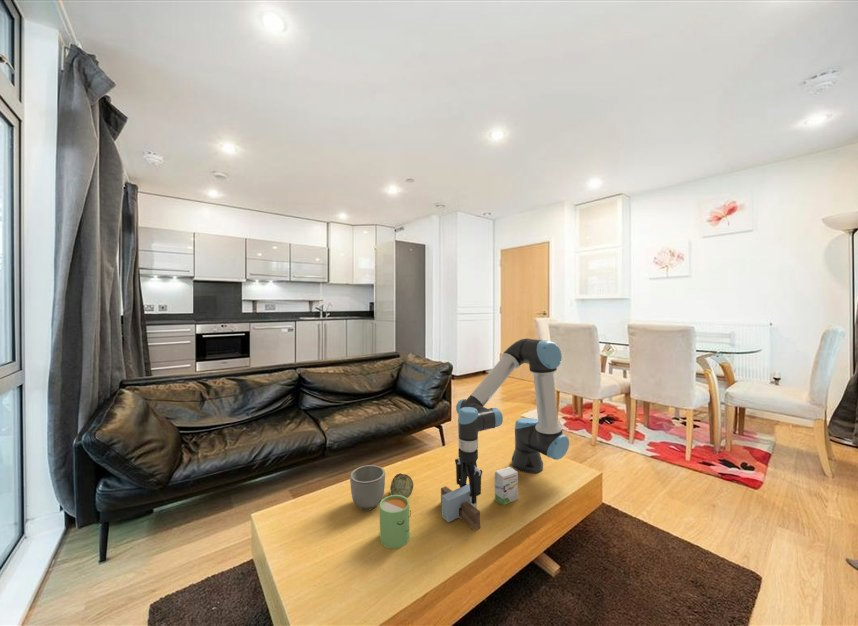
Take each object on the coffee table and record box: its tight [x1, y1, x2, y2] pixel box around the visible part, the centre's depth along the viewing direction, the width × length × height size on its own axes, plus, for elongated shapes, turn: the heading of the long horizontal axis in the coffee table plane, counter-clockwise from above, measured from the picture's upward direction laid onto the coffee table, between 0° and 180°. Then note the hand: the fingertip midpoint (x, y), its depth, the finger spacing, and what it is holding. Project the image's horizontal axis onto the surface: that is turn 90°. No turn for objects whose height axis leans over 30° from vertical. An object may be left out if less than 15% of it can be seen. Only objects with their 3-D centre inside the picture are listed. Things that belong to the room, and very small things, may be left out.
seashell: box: [389, 472, 414, 499], centre depth 136 cm, size 11×11×10 cm
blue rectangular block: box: [441, 483, 478, 523], centre depth 124 cm, size 14×4×8 cm, turn 125°
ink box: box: [494, 466, 519, 506], centre depth 134 cm, size 8×5×12 cm, turn 118°
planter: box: [349, 464, 386, 511], centre depth 131 cm, size 14×14×13 cm
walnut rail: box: [440, 485, 481, 531], centre depth 124 cm, size 2×20×6 cm, turn 35°
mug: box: [379, 494, 412, 549], centre depth 113 cm, size 13×10×12 cm
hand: (468, 507), depth 127 cm, fingers closed on blue rectangular block, 4 cm apart
